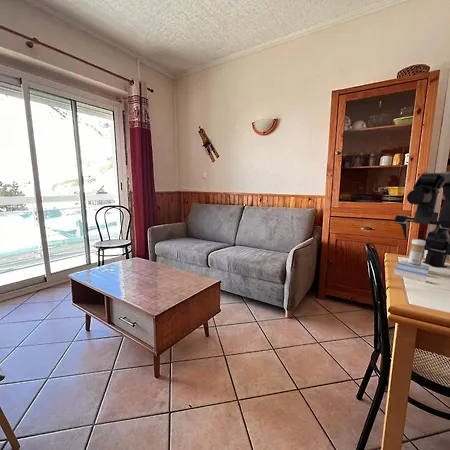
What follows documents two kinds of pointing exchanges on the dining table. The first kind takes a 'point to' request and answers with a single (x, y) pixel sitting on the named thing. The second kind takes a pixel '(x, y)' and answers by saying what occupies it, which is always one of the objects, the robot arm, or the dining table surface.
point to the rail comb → (412, 270)
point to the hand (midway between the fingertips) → (419, 241)
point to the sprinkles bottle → (416, 252)
